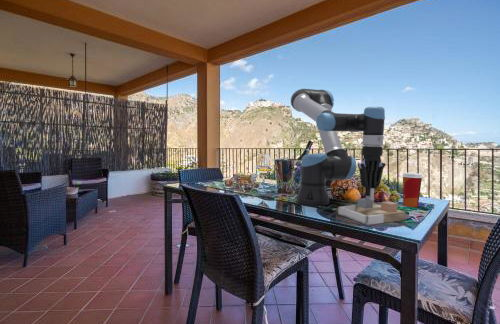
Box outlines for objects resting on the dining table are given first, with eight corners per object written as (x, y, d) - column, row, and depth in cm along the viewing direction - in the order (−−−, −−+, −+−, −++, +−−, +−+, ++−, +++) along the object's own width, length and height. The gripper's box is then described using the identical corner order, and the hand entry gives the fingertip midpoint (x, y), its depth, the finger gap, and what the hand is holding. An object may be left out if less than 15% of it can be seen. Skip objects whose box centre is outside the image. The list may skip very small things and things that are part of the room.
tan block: (380, 209, 105) (381, 202, 105) (388, 208, 106) (388, 201, 106) (389, 212, 101) (389, 204, 101) (397, 211, 103) (397, 203, 102)
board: (353, 212, 112) (354, 205, 112) (374, 210, 116) (374, 203, 116) (383, 222, 98) (383, 214, 98) (405, 219, 102) (405, 212, 102)
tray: (338, 213, 109) (338, 206, 109) (353, 212, 112) (354, 205, 112) (366, 225, 95) (366, 216, 95) (383, 222, 98) (383, 214, 98)
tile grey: (357, 206, 110) (357, 198, 110) (364, 205, 111) (365, 198, 111) (364, 208, 106) (365, 200, 106) (372, 207, 108) (372, 200, 108)
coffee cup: (407, 202, 131) (409, 172, 129) (424, 206, 123) (427, 174, 122) (396, 204, 127) (398, 173, 125) (413, 208, 119) (415, 175, 118)
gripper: (367, 146, 102) (364, 207, 104) (392, 146, 107) (388, 204, 109) (353, 145, 109) (350, 202, 111) (377, 145, 114) (374, 200, 116)
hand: (369, 203), depth 110 cm, fingers closed
